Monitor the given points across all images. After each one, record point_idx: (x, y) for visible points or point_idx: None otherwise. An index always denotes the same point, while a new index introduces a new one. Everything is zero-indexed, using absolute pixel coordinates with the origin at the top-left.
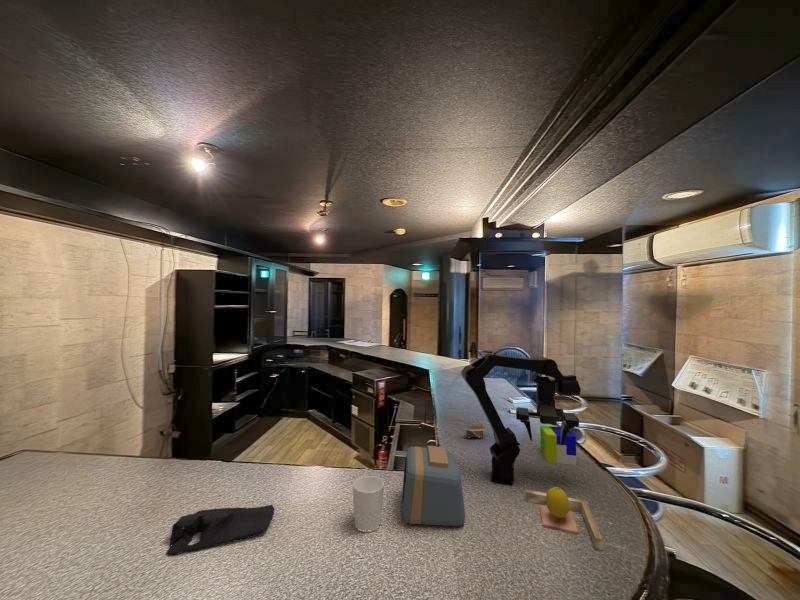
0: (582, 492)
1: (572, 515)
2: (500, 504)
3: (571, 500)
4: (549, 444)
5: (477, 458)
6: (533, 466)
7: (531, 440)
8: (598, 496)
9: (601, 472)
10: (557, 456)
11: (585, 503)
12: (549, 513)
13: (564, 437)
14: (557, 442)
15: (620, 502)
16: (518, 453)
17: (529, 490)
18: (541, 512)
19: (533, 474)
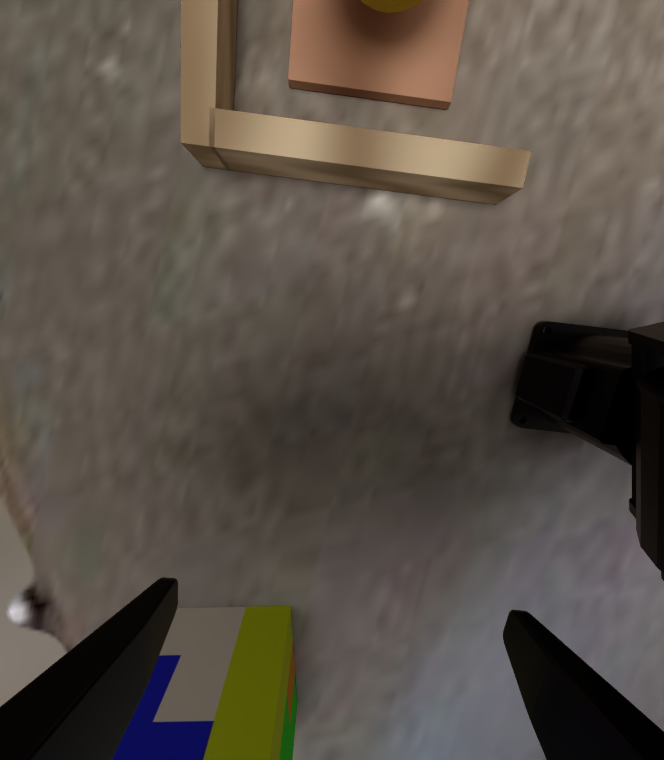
0: (184, 348)
1: (293, 50)
2: (659, 94)
3: (270, 121)
4: (260, 715)
5: (642, 560)
6: (369, 545)
7: (521, 614)
8: (115, 328)
9: (55, 564)
10: (233, 638)
11: (193, 105)
12: (417, 34)
13: (39, 687)
14: (202, 741)
15: (21, 297)
16: (654, 393)
17: (502, 182)
18: (461, 29)
19: (389, 467)
